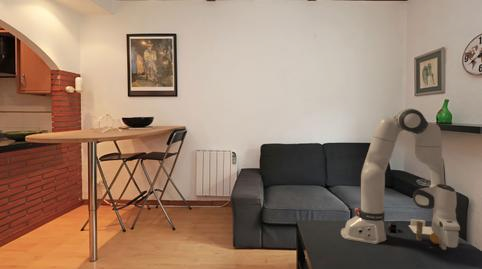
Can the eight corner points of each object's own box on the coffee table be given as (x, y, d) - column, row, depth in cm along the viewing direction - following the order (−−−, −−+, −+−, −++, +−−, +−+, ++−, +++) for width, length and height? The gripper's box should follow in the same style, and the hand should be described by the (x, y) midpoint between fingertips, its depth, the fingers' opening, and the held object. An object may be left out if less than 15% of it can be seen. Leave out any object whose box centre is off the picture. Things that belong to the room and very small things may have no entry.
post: (417, 240, 152) (417, 223, 151) (415, 238, 154) (416, 221, 154) (422, 240, 151) (423, 223, 150) (421, 238, 154) (421, 221, 153)
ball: (427, 234, 152) (430, 245, 149) (429, 230, 148) (432, 241, 145) (440, 235, 150) (443, 245, 147) (442, 230, 147) (445, 241, 143)
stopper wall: (411, 225, 172) (411, 220, 172) (410, 224, 174) (410, 219, 174) (425, 226, 170) (425, 221, 170) (424, 225, 172) (424, 220, 172)
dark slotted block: (402, 236, 158) (402, 228, 158) (387, 235, 160) (387, 226, 160) (396, 227, 170) (396, 220, 170) (382, 226, 172) (383, 219, 172)
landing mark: (414, 233, 160) (414, 233, 160) (408, 225, 172) (408, 225, 172) (439, 235, 157) (439, 235, 157) (431, 227, 169) (431, 226, 169)
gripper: (428, 212, 149) (427, 238, 150) (445, 227, 129) (444, 257, 130) (442, 213, 147) (441, 240, 148) (462, 228, 127) (460, 259, 128)
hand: (442, 248), depth 139 cm, fingers closed
